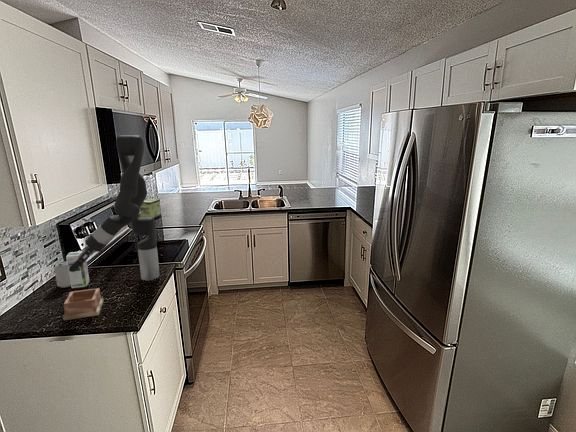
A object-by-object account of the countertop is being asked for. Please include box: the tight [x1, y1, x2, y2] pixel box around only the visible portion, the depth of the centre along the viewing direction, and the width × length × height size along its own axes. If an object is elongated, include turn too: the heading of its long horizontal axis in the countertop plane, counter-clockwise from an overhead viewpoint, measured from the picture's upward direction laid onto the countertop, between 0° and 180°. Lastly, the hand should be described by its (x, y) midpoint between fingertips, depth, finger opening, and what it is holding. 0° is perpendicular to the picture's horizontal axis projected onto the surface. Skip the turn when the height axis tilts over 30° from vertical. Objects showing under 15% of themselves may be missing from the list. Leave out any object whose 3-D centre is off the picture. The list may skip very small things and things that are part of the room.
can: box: [53, 260, 71, 288], centre depth 169 cm, size 8×8×12 cm
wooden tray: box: [62, 287, 104, 321], centre depth 146 cm, size 13×13×7 cm
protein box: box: [139, 198, 162, 220], centre depth 293 cm, size 10×16×16 cm
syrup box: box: [65, 250, 90, 289], centre depth 142 cm, size 6×6×14 cm
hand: (73, 267), depth 142 cm, fingers closed on syrup box, 6 cm apart
